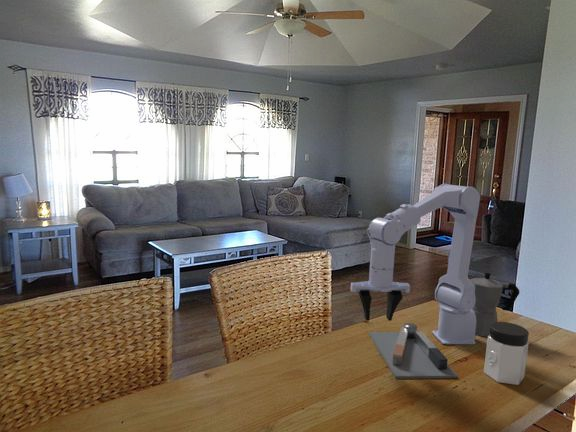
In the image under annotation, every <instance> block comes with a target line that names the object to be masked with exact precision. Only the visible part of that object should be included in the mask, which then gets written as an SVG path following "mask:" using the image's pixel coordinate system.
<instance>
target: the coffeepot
mask: <svg viewBox="0 0 576 432" xmlns="http://www.w3.org/2000/svg"><path fill="white" fill-rule="evenodd" d="M469 279H470V281H471V282H472V283H473V284H474V286H475V298H476V301H475V305H474V307H473V308H472V310H473V311H474V313H475V315H476V330H475V336H480V337H484V338H485V337H487V338H488V336H489V335H490V326H491V324H492V323H494V322H499V321H498V312H497V308H498V306H499V304H500V300H501V297H502V295H503V291H504V290H505V291H509V290H511V294H510V297H509V299H508V301H507V304H506V306H501V309H502V311H511V309H512V307H513V305H514V304H515V302H516V300H517V298H518V296H519V295H520V293H521V292H520V289H519V287H517V285H516V284H515V283H508V282H500V281H498V280H495V279H492V278H491V272H484V277H473V278H469Z"/></svg>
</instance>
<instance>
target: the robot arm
mask: <svg viewBox="0 0 576 432" xmlns="http://www.w3.org/2000/svg"><path fill="white" fill-rule="evenodd" d="M480 200H481V194H480V193H479V192H478V190H477V189H476V188H475V187H474V186H465V185H455V184H449V183H442V184H440V185H438V186H436V187H434V190H433V191H432V192H431V193H430V194H428V195H427V196H425V197H424V198H422V199H420V200H419V201H418V202H417V203H415V204H413V205H412V204H409V203H407V204H405V203H403V204H400V206H399V208H398V209H396V210H394V211H392V212H389V213H387V214H385V216H384V217H376V218H374V219H373V220H371V222H370V223H369V225H368V228H366V234H367V236H368V238H369V245H370V261H369V272H368V273H369V277H368V280H366V281H365V280H364V281H356V282H350V292H352V293H358V295H359V298H360V301H361V304H362V305H361V306H362V309H363V315H364V319H365V320H366V321H370V315H371V304H372V300H373V297H372V296H371V293H373V292H375V293H376V292H377V293H380V292H381V293H386V295H387V297H386V300H387V301H386V302H387V304H386V313H385V316H386V319H387V320H388V321H392V319H393V316H394V313H395V311H396V309H397V308H398V305H399V304H400V302H401V301H402V300H403V297H404V296H403V294H402V293H406V294H409V293H410V291H411V285H410V283H408V282H398V281H393V280H394V279H393V278H394V267H395V265H394V264H395V254H396V253H395V252H396V244H398V243H399V241H401V238H402V236H403V235H404V234H405V233H406V232H408V231H410V230H411V229H412V228H414V227H416V226H417V225H419V224H420V222H421V218H423V217H424V216H426V215H428V214H429V213H432V212H434V211H436V210H438V209H440V208H442V209H444V210H446V211H448V212H449V213H450V214H451V216H452V217H453V218H454V223H453V225H454V226H453V230H452V238H451V244H450V250H449V256H448V257H449V258H448V262H447V271H446V274H444V275H442V276H440V278H439V279H438V284H437V286H436V288H435V290H434V299H435V300H436V301H437V302H438V304H437V305H438V307H439V314H438V324H437V325H438V326H437V330H431V333H432V334H433V335H434V337H435V338H437V340H439V342H440V343H441V344H442V345H475V344H477V343H476V341H475V338H476V335H475V330H476V315H475V313H474V311H473V310H472V308H473V307H474V305H475V301H476V298H475V286H474V284H473V283H472V282H471V281H470V279H471V278H469V276H468V275H469V270H470V269H469V268H470V265H471V264H470V262H471V255H472V249H473V242H474V237H475V230H476V223H477V217H478V213H479V207H480ZM370 292H371V293H370Z"/></svg>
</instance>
